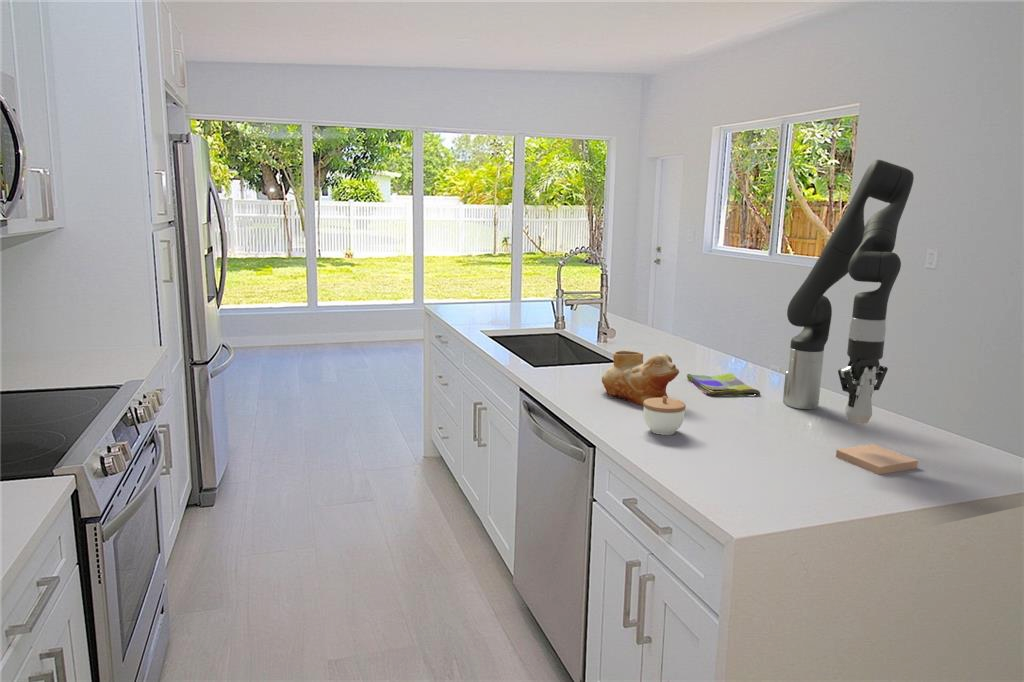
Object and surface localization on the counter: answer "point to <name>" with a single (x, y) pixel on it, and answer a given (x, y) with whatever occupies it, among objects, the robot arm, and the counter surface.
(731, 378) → the dish towel
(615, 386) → the ceramic vessel
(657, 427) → the lidded jar
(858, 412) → the salt shaker
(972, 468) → the counter surface
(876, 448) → the tile
